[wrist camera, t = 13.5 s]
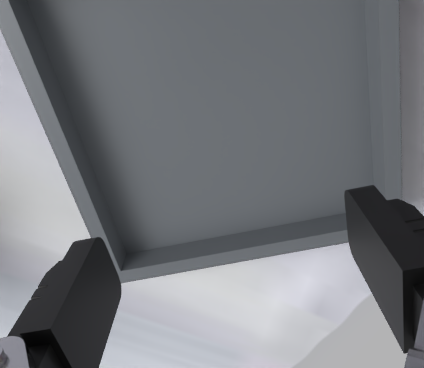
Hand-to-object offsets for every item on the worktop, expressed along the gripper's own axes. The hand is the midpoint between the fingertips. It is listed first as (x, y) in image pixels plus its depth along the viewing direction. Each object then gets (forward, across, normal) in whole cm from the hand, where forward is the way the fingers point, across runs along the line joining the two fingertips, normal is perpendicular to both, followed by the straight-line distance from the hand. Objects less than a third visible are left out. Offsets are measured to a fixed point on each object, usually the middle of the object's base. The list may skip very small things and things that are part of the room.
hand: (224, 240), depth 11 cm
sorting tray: (+15, 0, 0) cm, 15 cm away
